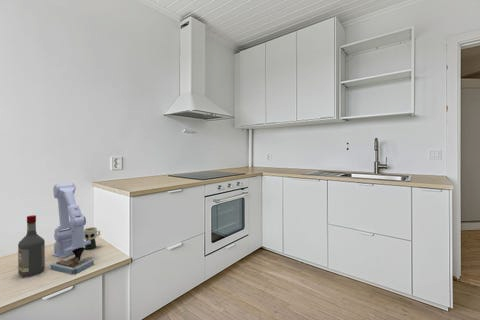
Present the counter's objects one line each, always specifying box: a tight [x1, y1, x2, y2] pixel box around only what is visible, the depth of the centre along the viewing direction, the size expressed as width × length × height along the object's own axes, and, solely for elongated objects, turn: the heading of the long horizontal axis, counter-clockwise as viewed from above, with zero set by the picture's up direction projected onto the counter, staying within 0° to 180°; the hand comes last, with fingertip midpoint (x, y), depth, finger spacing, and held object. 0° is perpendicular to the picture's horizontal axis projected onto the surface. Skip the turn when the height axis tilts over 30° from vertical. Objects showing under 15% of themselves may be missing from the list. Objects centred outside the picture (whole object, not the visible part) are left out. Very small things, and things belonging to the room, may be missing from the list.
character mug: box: [84, 226, 101, 250], centre depth 152 cm, size 11×7×13 cm, turn 113°
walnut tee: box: [55, 256, 80, 268], centre depth 128 cm, size 8×9×4 cm
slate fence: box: [49, 259, 95, 275], centre depth 128 cm, size 17×12×2 cm
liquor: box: [17, 214, 46, 278], centre depth 121 cm, size 9×9×30 cm
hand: (78, 260), depth 133 cm, fingers closed
